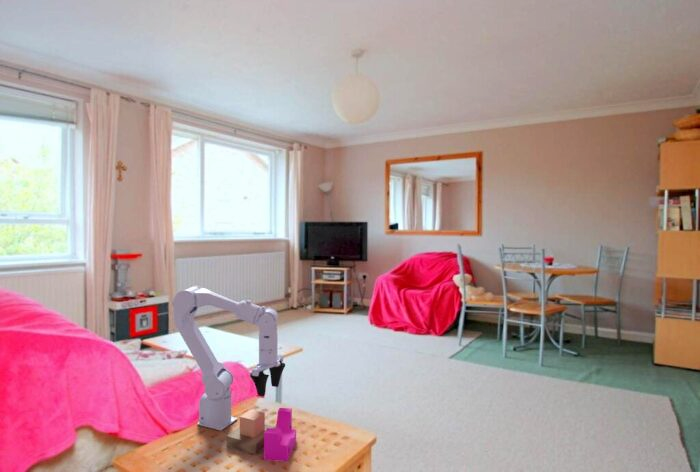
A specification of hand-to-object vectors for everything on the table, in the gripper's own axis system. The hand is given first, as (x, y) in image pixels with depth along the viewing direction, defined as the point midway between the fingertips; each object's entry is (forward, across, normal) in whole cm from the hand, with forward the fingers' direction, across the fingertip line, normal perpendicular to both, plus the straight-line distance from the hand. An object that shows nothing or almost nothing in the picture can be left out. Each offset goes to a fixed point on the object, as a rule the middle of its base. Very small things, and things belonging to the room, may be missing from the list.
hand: (268, 390), depth 131 cm
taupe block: (+10, -11, -2) cm, 15 cm away
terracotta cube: (+7, -11, -2) cm, 13 cm away
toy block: (+11, -9, -11) cm, 18 cm away
